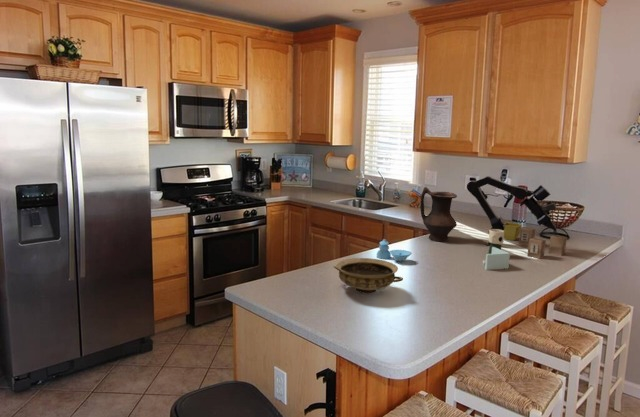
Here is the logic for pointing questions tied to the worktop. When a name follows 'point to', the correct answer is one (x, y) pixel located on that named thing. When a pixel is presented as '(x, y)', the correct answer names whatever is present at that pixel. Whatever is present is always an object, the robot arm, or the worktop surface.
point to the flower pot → (511, 231)
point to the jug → (438, 215)
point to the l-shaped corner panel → (496, 259)
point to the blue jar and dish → (391, 252)
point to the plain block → (557, 245)
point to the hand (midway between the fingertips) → (555, 229)
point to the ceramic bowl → (367, 274)
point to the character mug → (495, 239)
